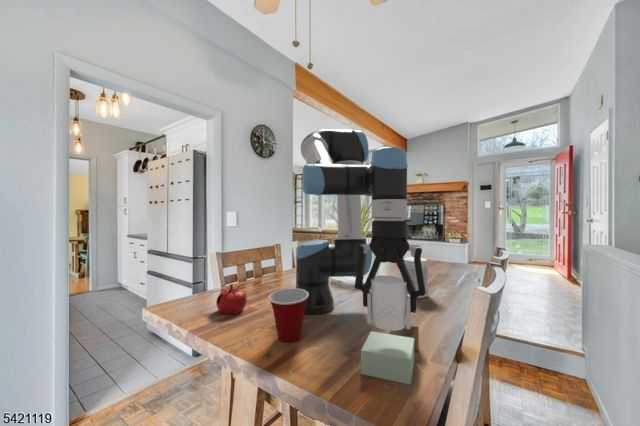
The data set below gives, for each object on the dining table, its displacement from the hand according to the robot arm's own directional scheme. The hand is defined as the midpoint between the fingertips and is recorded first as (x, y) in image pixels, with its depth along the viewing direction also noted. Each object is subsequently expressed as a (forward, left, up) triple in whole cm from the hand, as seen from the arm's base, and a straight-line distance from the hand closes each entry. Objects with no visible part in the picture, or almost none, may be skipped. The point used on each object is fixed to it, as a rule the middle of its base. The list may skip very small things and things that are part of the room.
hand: (389, 323), depth 62 cm
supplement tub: (+2, +57, -10) cm, 58 cm away
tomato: (-55, +15, -10) cm, 58 cm away
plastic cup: (-27, +4, -10) cm, 29 cm away
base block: (0, 0, -10) cm, 10 cm away
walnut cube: (+2, +12, -10) cm, 16 cm away
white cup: (0, 0, 0) cm, 0 cm away
